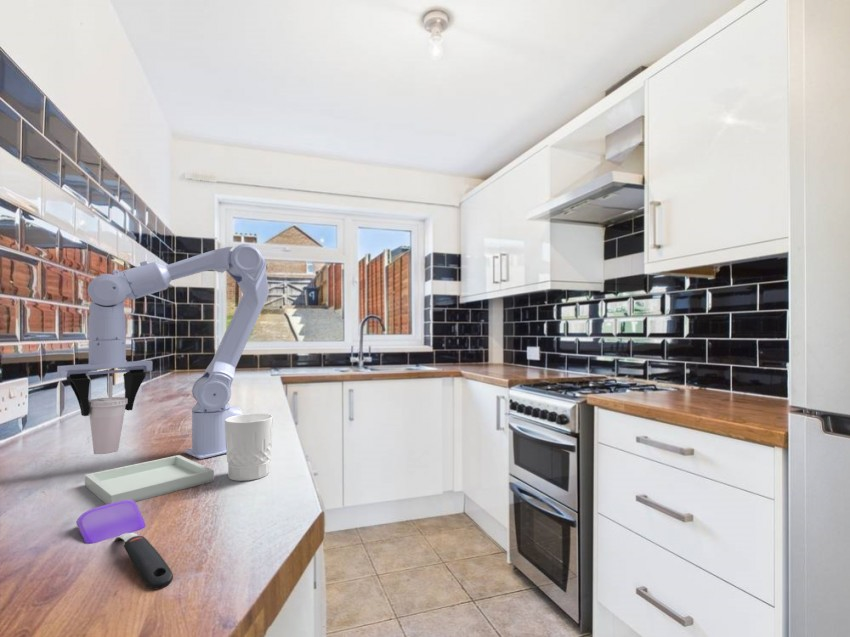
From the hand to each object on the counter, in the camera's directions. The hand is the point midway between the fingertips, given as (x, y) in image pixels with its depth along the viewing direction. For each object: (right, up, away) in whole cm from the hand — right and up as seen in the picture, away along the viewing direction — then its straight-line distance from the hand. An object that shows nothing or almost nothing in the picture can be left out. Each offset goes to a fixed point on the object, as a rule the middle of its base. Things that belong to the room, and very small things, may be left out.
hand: (107, 412), depth 84 cm
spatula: (+25, -10, -31) cm, 41 cm away
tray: (+13, -10, -9) cm, 19 cm away
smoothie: (0, -7, 0) cm, 7 cm away
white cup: (+29, -10, -5) cm, 31 cm away
